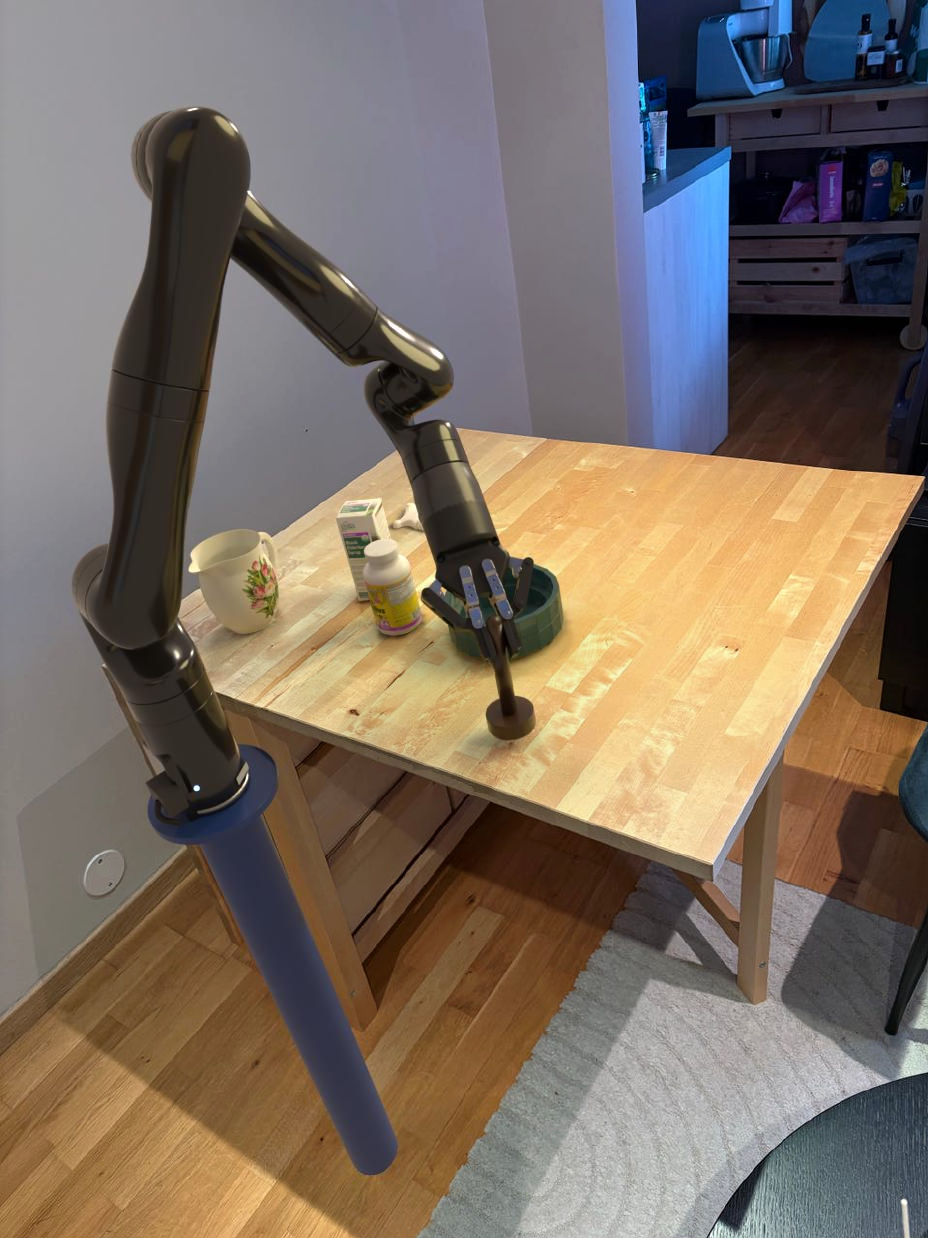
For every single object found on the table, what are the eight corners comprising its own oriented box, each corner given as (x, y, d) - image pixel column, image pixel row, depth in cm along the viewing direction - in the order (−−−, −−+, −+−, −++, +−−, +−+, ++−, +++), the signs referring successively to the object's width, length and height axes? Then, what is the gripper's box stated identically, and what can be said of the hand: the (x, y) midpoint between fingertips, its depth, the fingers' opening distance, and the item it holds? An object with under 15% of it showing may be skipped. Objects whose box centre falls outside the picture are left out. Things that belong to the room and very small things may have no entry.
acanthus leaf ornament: (408, 509, 163) (406, 499, 162) (443, 510, 160) (441, 500, 159) (390, 529, 157) (387, 520, 156) (425, 531, 154) (423, 521, 153)
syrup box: (357, 602, 139) (333, 517, 131) (367, 581, 144) (344, 498, 136) (393, 600, 138) (371, 514, 130) (402, 579, 143) (381, 495, 135)
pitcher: (315, 587, 145) (291, 510, 138) (254, 656, 132) (224, 574, 124) (258, 583, 149) (232, 508, 142) (193, 649, 136) (160, 570, 129)
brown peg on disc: (511, 747, 103) (491, 637, 95) (478, 727, 107) (455, 620, 99) (546, 721, 106) (529, 611, 98) (512, 702, 110) (493, 596, 101)
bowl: (505, 678, 117) (498, 640, 114) (428, 637, 128) (420, 602, 125) (587, 619, 125) (583, 582, 122) (508, 586, 136) (502, 551, 132)
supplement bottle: (371, 621, 134) (350, 545, 127) (413, 605, 136) (394, 529, 129) (386, 643, 129) (365, 565, 122) (429, 626, 130) (411, 548, 123)
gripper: (394, 518, 97) (446, 672, 94) (516, 483, 100) (571, 632, 96) (393, 540, 105) (441, 684, 101) (506, 507, 107) (557, 647, 103)
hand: (504, 658), depth 99 cm, fingers closed on brown peg on disc
